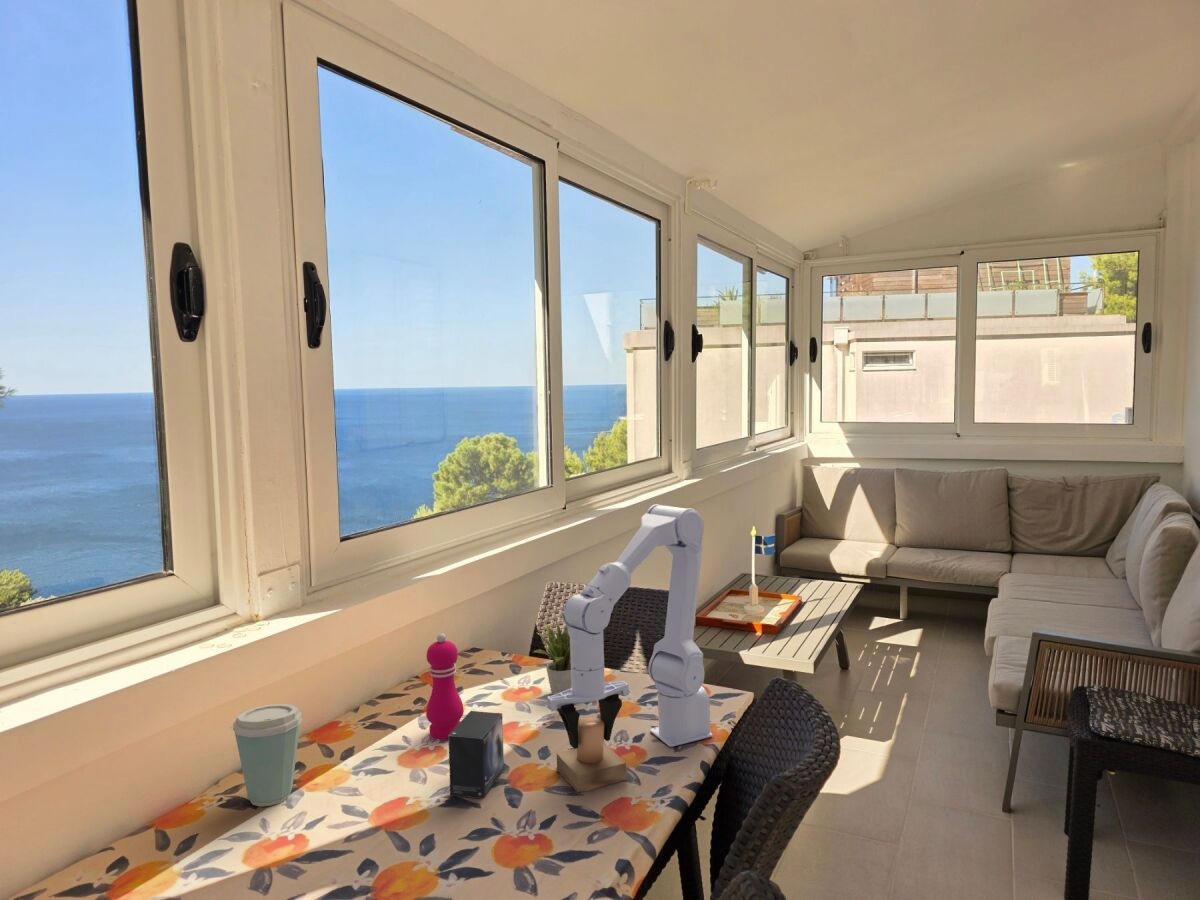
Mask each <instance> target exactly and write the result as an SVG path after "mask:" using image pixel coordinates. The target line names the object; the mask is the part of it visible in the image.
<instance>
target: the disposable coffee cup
mask: <svg viewBox="0 0 1200 900" xmlns="http://www.w3.org/2000/svg"><path fill="white" fill-rule="evenodd" d="M302 714H303V713H302V712H301V711H300V710H299V708H298V707H297V706H295V705H293V704H289V703H288V704H287V703H286V704H285V703H275V704H274V703H272V704H271V703H270V704H265V705H261V706H256V707H252V708H250V709H247V710H245V711H243V712H241V713H240V714H239V715H238V716H237V717H236V718H235V719H236V720H235V721H234V722H233V723H232V730H233V732H234V736H235V741H236V744H237V750H238V756H239V759H240V766H241V770H242V774H243V778H244V779H243V781H244V784H245V789H246V794H247V798H248V799H249V802H250V803H251V804H252V805H253V806H256V807H257V806H258V807H270V806H271V807H272V806H274V805H278V804H281V803H282V802H284V801H285V800H287V799H289V797H290V795H291V791H292V789H293V785H294V776H295V769H296V767H295V766H296V760H297V759H296V758H297V752H298V745H299V744H298V743H299V736H300V727H301V723H302V721H303V715H302Z"/></svg>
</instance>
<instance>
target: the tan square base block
mask: <svg viewBox="0 0 1200 900" xmlns="http://www.w3.org/2000/svg"><path fill="white" fill-rule="evenodd" d="M626 766H627V763H626V762H625V761H624V759H622V758H621V757H620V756H619V755H618V754H617V753H616V752H614V751H613V750H612V749H611V748H610V747H609V746H608V745H606V743H604V752H603V759H602V760H601V761H599V762H597V763H584V762H581V761H580V760H578V759H577V748H576V749H574V748H572V749H570V750H565V751H561V752H557V753H556V770H557V771H558V773H559V774H560V775H561V776H562V777H563V779H565V781H566V782H567V783H568V784H569V785H570V786H571V787H572V788H573V789H574V791H575V792H577V793H578V794H579V793H583V792H586V791H590V790H595V789H597V788H601V787H606V786H608V785H613V784H617V783H620V782H624V781H627V767H626Z"/></svg>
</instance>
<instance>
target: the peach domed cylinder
mask: <svg viewBox="0 0 1200 900" xmlns="http://www.w3.org/2000/svg"><path fill="white" fill-rule="evenodd" d="M578 742H579V744H578V748H576V749H577V759H578V760H580V761H581V762H584V763H597V762H599V761H601V760H602V759H603V752H604V744H605V739H604V722H603V721H602V720H601V718H598V717H591V716H589V717H583V718H579V722H578Z"/></svg>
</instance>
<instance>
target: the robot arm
mask: <svg viewBox="0 0 1200 900" xmlns="http://www.w3.org/2000/svg"><path fill="white" fill-rule="evenodd" d="M704 527H705V520H704V519H703V518H702V516H701V514H700V513H699V512H698V511H697V510H696V509H694V508H691V507H689V508H684V507H676V506H669V505H663V504H659V503H656V504H655V503H654V504H653V505H651V506H650V507H649V508H648V509H647V511H646V512H645V513H644V514H643V515H642V516H641V518H640V527H639V529H638V530H637V532H635V534H634V535H633V537H632V538H631V540H630V541H629V543H628V544H627V546H626V547H625V548H624V550H623V551H622V552H621V554H620V555H619V557H618V558H617V560H616V561H615V562H606V563H605V564H601V566H600V567H599V569H598V572H597V573H596V574H595V576H594V577H593V578H592V579H591V580H590V581H589V582H588V584H587V585H586V586H585V587H583V589H582V591H581V592H580V593H576V594H575V595H572V596H571V597H570V598H568V599H567V600H566V602H565V603H564V607H563V611H562V612H561V619H562V621H563V623H564V624H565V625H566V628H567V629H568V634H569V636H570V642H569V645H570V656H571V660H570V661H571V684H572V688H570V689H568V690H565V691H563V692H560V693H558V694H555V695H552V694H551V695H548V696H546V707H547V709H548V710H549V711H551V712H555V711H556V712H557V713H558V714H559V717H560V718H561V720H562V722H563V725H564V727H565V730H566V732H567V733H566V734H567V737H568V742H569V745H570V746H571V747H572V749H577V748H578V744H579V742H578V722H579V720H580V716H581V714H580V713H579V711H577V707H575V705H580V704H585V703H586V704H587V703H591V702H596V701H598V708H599V716H600V719H601V720H602V721H603V722H604V741H606V742H608V741H611V736H612V731H613V727H614V724H615V721H616V718H617V716H618V714H619V712H620V710H621V708H622V706H623V701H622V699H620V698H619V696H622V697H623V696H624V697H625V696H629V695H630V694H629V693H630V692H629V689H630V688H629V684H628V683H627V682H625V681H624V680H620V681H614V682H613V681H611V682H605V680H606V679H605V677H606V676H605V654H604V648H605V647H604V630H605V629H606V628H607V627H608V625H609V623H610V621H611V616H612V615H611V614H612V612H613V611H614V606H615V604H616V603H618V601H619V599H621V597H622V596H623V595H624V593H626V591H627V590H628V588H629V587H630V586H631V585H632V579H631V578H632V577H631V576H632V574H633V572H634V571H635V570H636V569H637V568H638V567H639V566H640V565H641V564H642V563H643V562H644V561H645V560H646V559H647V558H648V557H649V556H650V555H651V554H652V552H654V551H655V549H656V548H657V547H662V546H665V548H666V549H667V551H669V552H670V554H671V556H672V560H671V571H670V580H669V589H668V590H669V591H668V599H667V600H668V601H667V608H666V617H665V625H664V627H665V628H664V637H663V638H661V639H659V641H658V642H655V644H654V645H653V652H652V655H651V657H650V660H649V662H648V667H647V668H648V675H649V678H650V680H651V681H652V682H654V688H655V689H657V713H658V714H657V715H658V716H657V717H658V726H656V727H651V728H650V729H649V731H650V733H652V734H653V735H654V736H655V737H657V738H658V739H660V740H661V741H662V743H664V744H666V745H667V746H668V747H671V748H673V747H675V746H680V745H684V744H688V743H692V742H696V741H700V740H703V739H708V738H711V737H713V733H712V732H711V703H710V698H709V695H708V692H707V690H706V689H705V688H704V686H703V683H704V680H705V667H704V663H703V661H704V659H703V658H704V653H703V651H702V650H701V649H700V648H699V646H698V645H697V644H696V643H695V641H694V633H695V632H694V631H695V630H694V629H695V623H696V622H695V621H696V612H697V606H698V605H697V603H698V593H699V586H700V585H699V583H700V576H701V575H700V574H701V565H702V555H703V538H704V537H703V536H704Z"/></svg>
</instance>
